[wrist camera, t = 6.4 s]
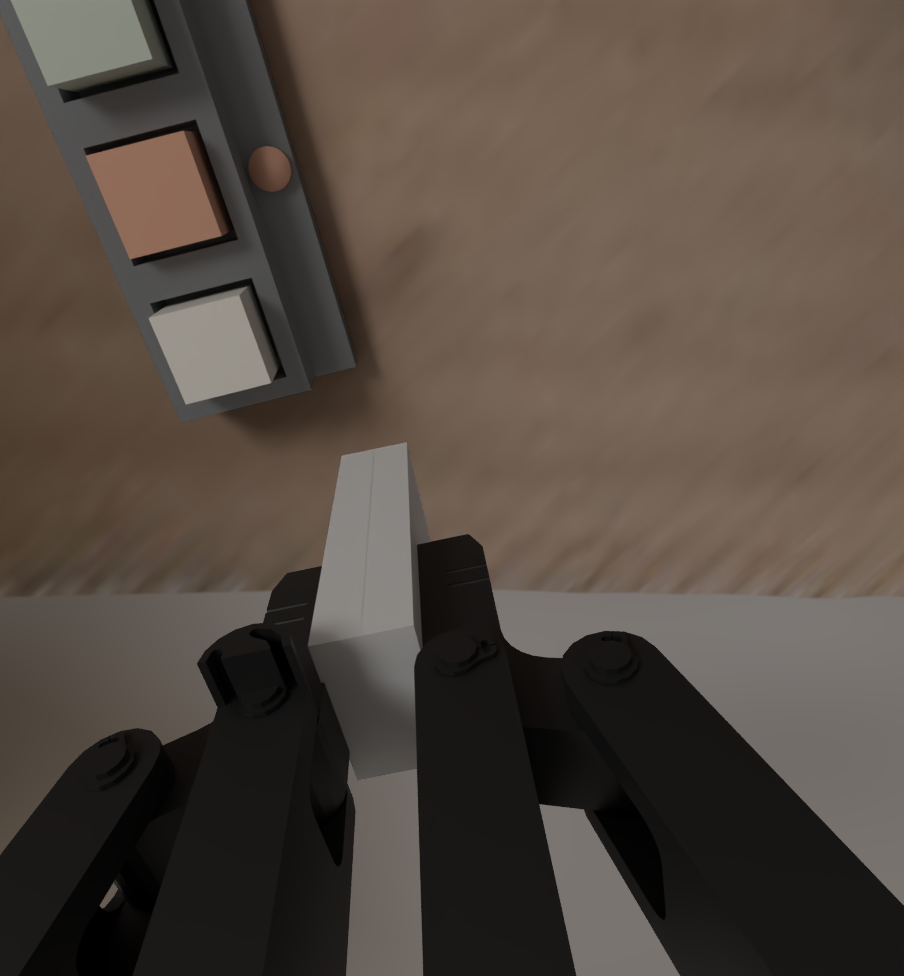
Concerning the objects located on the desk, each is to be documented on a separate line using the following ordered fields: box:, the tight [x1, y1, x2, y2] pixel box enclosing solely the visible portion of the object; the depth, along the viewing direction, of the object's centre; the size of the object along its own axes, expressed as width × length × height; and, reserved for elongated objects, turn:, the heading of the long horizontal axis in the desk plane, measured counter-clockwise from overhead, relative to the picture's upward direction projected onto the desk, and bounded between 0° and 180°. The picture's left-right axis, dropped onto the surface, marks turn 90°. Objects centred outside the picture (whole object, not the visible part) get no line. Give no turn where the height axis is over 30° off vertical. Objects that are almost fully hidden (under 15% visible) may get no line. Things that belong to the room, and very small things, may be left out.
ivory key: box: [149, 284, 279, 404], centre depth 34 cm, size 4×4×3 cm
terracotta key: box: [86, 131, 234, 259], centre depth 31 cm, size 4×4×3 cm
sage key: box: [11, 0, 173, 92], centre depth 28 cm, size 4×4×3 cm
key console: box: [0, 0, 357, 423], centre depth 33 cm, size 10×21×4 cm, turn 13°
